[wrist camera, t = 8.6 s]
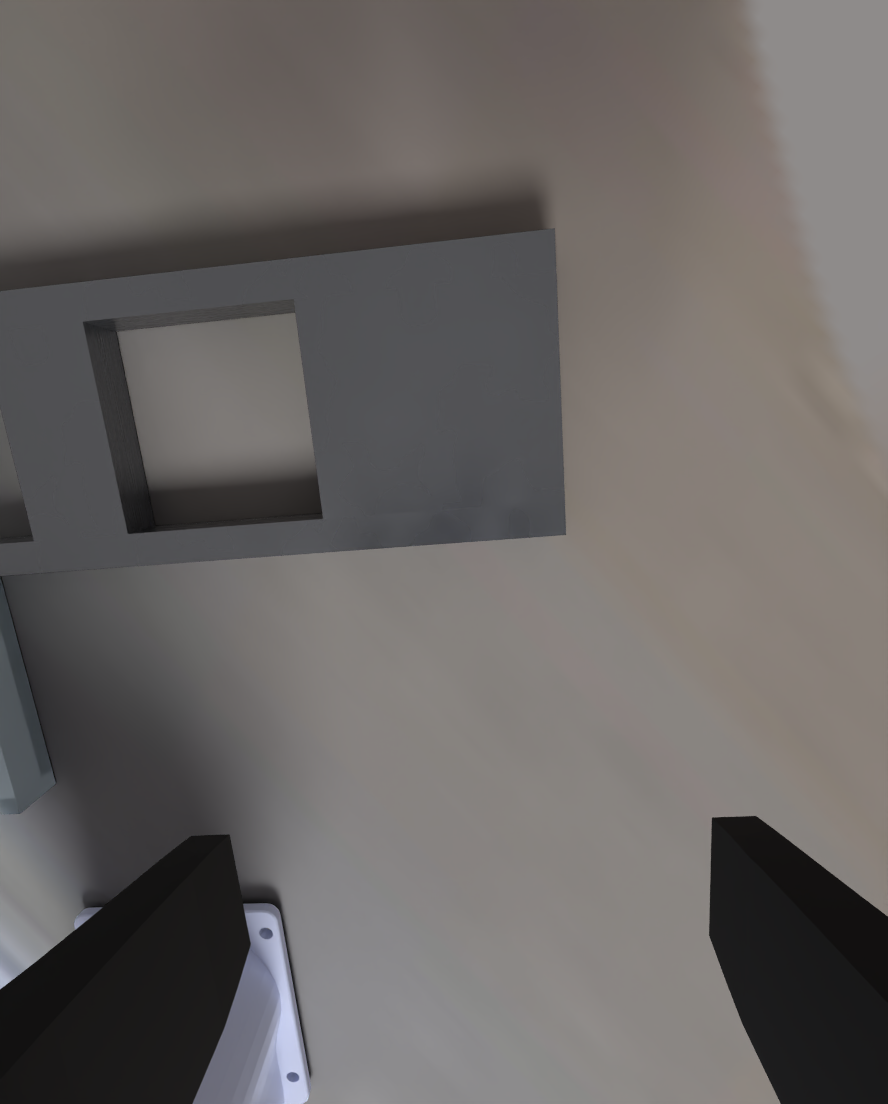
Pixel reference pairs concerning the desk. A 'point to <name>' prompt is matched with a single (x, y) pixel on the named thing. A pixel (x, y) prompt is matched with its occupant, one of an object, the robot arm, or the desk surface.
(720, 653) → the desk surface
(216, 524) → the rail
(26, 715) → the parts tray
